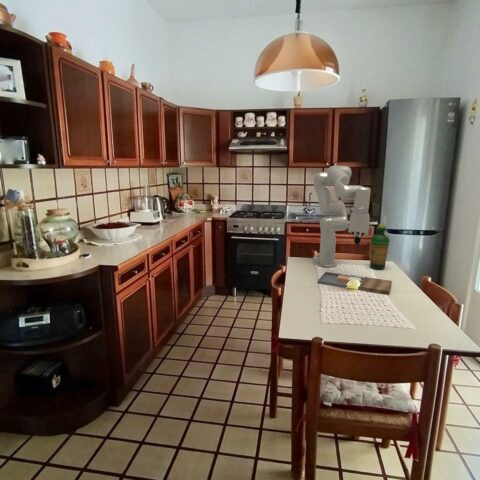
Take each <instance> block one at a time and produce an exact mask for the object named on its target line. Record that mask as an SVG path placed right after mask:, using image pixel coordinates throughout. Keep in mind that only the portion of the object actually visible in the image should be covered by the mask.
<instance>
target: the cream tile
mask: <svg viewBox="0 0 480 480" xmlns="http://www.w3.org/2000/svg"><path fill="white" fill-rule="evenodd" d="M352 279H356V280H358V281H359V282H360V283H361V278H357V277H350V278H349V279H348V282H349V281H350V280H352Z"/></svg>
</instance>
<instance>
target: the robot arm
mask: <svg viewBox="0 0 480 480" xmlns="http://www.w3.org/2000/svg"><path fill="white" fill-rule="evenodd" d="M351 177H352V169H351V168H350V167H349V166H347V165H331V166H330V167H329V168H328V169H327V170H326V171H321V172H317V173H316V174H315V175H314V177H313V189H314V190H315V192H316V196H317V202H318V207H319V211H320V213H321V214H322V215H324V216H323V217H321V219H320V221H319V228H320V242H319V256H313V257H312V260H313V261H316V265H317V266H320V267H323V268H334V267H336V266H337V262H336V261H335V259H336V257H335V256H336V246H337V245H336V242H337V238H336V237H337V236H336V235H335V233H334V232H341V231H346V230H347V229H348V230H347V232H348V233H349V234H352V235H353V237H354V241H353V242H354V244H355V245H357V246H359V244H361V241H362V239H361V238H362V237H363V236H367V235H369V234H370V231H369V230H370V213H369V209H370V207H369V206H370V199H371V191H372V190H371V188H370V187H367V186H363V185H349V184H350V180H351ZM327 186H334V187H333V188H334V193H335V194H336V195H337V197H339V198H340V199H333V198H332V193H331V191H330V189H328V188H327ZM341 199H342V200H354V201H353V207H350V211H352V212H351V213H350V217H349V218H348V214H347V210H346V206H345V203H344V202H343V201H342V200H341ZM348 219H349V220H348ZM358 233H359V234H358Z"/></svg>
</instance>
